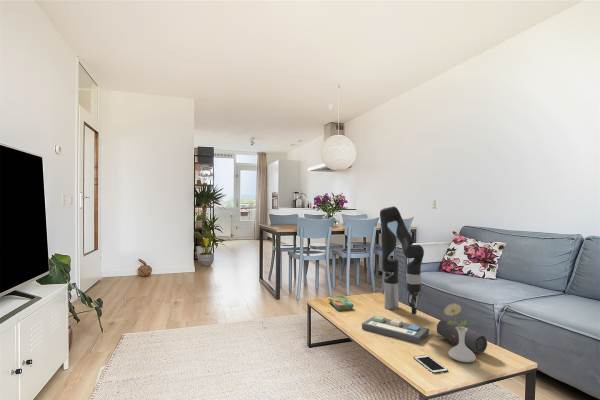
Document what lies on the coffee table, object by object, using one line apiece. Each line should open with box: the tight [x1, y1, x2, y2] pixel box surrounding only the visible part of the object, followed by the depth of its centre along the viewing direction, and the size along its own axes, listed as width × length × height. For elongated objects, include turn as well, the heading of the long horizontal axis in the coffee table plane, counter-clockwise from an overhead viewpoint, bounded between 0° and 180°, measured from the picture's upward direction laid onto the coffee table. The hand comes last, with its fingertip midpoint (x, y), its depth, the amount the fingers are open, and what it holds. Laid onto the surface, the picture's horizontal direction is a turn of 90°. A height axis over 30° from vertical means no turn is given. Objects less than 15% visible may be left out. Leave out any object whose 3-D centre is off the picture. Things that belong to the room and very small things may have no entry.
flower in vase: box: [443, 303, 477, 363], centre depth 148 cm, size 13×11×25 cm
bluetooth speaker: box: [436, 319, 488, 354], centre depth 161 cm, size 23×9×10 cm, turn 23°
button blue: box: [408, 324, 420, 332], centre depth 175 cm, size 5×5×4 cm
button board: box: [361, 315, 430, 345], centre depth 180 cm, size 16×32×4 cm, turn 51°
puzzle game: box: [327, 295, 355, 311], centre depth 226 cm, size 12×5×20 cm
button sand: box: [390, 318, 403, 327], centre depth 181 cm, size 5×5×4 cm
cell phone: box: [413, 354, 449, 374], centre depth 143 cm, size 8×15×1 cm, turn 14°
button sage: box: [374, 315, 386, 323], centre depth 188 cm, size 5×5×4 cm
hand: (414, 313), depth 175 cm, fingers closed
